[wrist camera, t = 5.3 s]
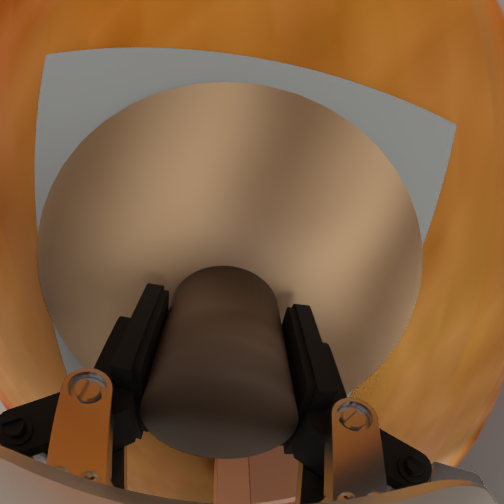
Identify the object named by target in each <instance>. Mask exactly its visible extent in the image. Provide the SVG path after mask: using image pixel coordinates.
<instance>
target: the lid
mask: <svg viewBox="0 0 504 504" xmlns="http://www.w3.org/2000/svg"><path fill="white" fill-rule="evenodd" d="M37 266H38V276H39V282H40V286H41V290H42V294H43V298H44V302H45V304H46V307H47V310H48V312H49V315H50V317H51V320H52V322H53V324H54V326H55V327H56V329H57V331H58V333H59V335H60V337H61V338H62V340H63V341H64V343H65V344H66V346H67V347H68V348H69V350H70V351H71V353H72V354H73V355H74V356H75V358H76V359H77V360H78V361H79V362H80V363H81V364H82V366H83V367H84V368H94V366H95V364H96V362H97V360H98V358H99V356H100V354H101V351H102V349H103V347H104V345H105V343H106V341H107V339H108V337H109V335H110V333H111V331H112V329H113V327H114V325H115V323H116V321H117V319H118V318H119V317H120V316H124V317H129V318H131V316H132V314H133V312H134V310H135V308H136V305H137V303H138V301H139V299H140V297H141V295H142V293H143V291H144V289H145V287H146V285H147V283H151V284H157V285H163V286H164V290H168V291H169V311H168V314H167V317H166V320H165V323H164V326H163V330H162V333H161V336H160V339H159V342H158V346H157V349H156V352H155V356H154V359H153V362H152V366H151V369H150V373H149V376H148V380H147V383H146V387H145V390H144V394H143V397H142V401H141V405H140V415H141V419H142V421H143V423H144V425H145V426H146V428H147V429H148V430H149V431H150V432H151V433H152V434H153V435H154V436H155V437H156V438H157V439H159V440H160V441H162V442H163V443H165V444H167V445H168V446H170V447H172V448H175V449H177V450H179V451H182V452H185V453H188V454H192V455H195V456H200V457H206V458H215V459H236V458H245V457H250V456H255V455H259V454H262V453H265V452H267V451H270V450H272V449H274V448H276V447H278V446H280V445H281V444H283V443H284V442H285V441H287V440H288V439H289V438H290V437H291V436H292V435H293V433H294V432H295V430H296V428H297V425H298V420H299V418H298V410H297V405H296V399H295V394H294V388H293V383H292V377H291V372H290V367H289V361H288V356H287V351H286V345H285V340H284V335H283V329H282V322H283V319H284V315H285V312H286V309H287V307H292V306H293V304H302V305H309V306H310V307H311V310H312V313H313V316H314V319H315V322H316V324H317V327H318V330H319V333H320V336H321V339H322V342H323V343H328V344H329V346H330V348H331V351H332V354H333V357H334V360H335V363H336V366H337V368H338V371H339V374H340V377H341V380H342V383H343V386H344V389H345V392H346V395H347V394H348V393H350V392H351V391H353V390H354V389H356V388H357V387H358V386H359V385H360V384H362V383H363V382H364V381H365V380H366V379H368V378H369V377H370V376H371V375H372V374H373V373H374V372H375V371H376V370H377V369H378V368H379V367H380V366H381V364H382V363H383V362H384V361H385V360H386V358H387V357H388V356H389V355H390V353H391V352H392V351H393V349H394V348H395V347H396V345H397V343H398V342H399V340H400V338H401V336H402V335H403V333H404V331H405V329H406V328H407V325H408V323H409V321H410V318H411V316H412V313H413V311H414V308H415V305H416V301H417V297H418V294H419V290H420V284H421V276H422V267H423V258H422V239H421V234H420V228H419V223H418V218H417V215H416V212H415V209H414V206H413V203H412V201H411V198H410V195H409V193H408V191H407V189H406V187H405V185H404V183H403V182H402V180H401V178H400V176H399V174H398V173H397V171H396V169H395V168H394V167H393V165H392V164H391V163H390V161H389V160H388V159H387V157H386V156H385V155H384V154H383V152H382V151H381V150H380V149H379V147H378V146H377V145H376V144H375V143H374V142H372V141H371V140H370V139H369V138H368V137H367V136H366V135H365V134H364V133H363V132H362V131H361V130H360V129H358V128H357V127H356V126H355V125H353V124H352V123H351V122H349V121H348V120H346V119H345V118H343V117H342V116H340V115H339V114H337V113H336V112H334V111H332V110H331V109H329V108H327V107H325V106H323V105H321V104H319V103H317V102H314V101H312V100H310V99H308V98H305V97H303V96H301V95H298V94H296V93H292V92H288V91H285V90H281V89H277V88H273V87H269V86H265V85H258V84H249V83H238V82H215V83H202V84H192V85H187V86H183V87H179V88H175V89H171V90H167V91H163V92H159V93H157V94H154V95H152V96H149V97H147V98H145V99H142V100H140V101H138V102H136V103H133V104H131V105H129V106H127V107H126V108H124V109H122V110H121V111H119V112H118V113H116V114H115V115H113V116H112V117H110V118H109V119H107V120H106V121H104V122H103V123H101V124H100V125H99V126H98V127H97V128H96V129H95V130H94V131H92V132H91V133H90V134H89V135H88V136H87V137H86V138H85V139H84V140H83V141H82V142H81V143H80V144H79V145H78V146H77V148H76V149H75V150H74V151H73V153H72V154H71V155H70V156H69V158H68V159H67V160H66V162H65V163H64V164H63V166H62V168H61V169H60V171H59V173H58V175H57V177H56V178H55V180H54V182H53V184H52V186H51V188H50V190H49V193H48V196H47V199H46V201H45V204H44V207H43V210H42V214H41V219H40V224H39V230H38V236H37Z"/></svg>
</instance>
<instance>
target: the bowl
mask: <svg viewBox="0 0 504 504" xmlns="http://www.w3.org/2000/svg"><path fill="white" fill-rule="evenodd" d="M298 463H299V461H298V460H296V459H295V458H294V456H293V454H284V448H283V446H278V447H276V448H274V449H272V450H270V451H267V452H265V453H262V454H259V455H255V456H250V457H245V458H236V459H215V462H214V498H213V504H295V496H296V486H297V474H298Z"/></svg>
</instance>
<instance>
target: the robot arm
mask: <svg viewBox="0 0 504 504" xmlns="http://www.w3.org/2000/svg"><path fill="white" fill-rule="evenodd" d="M168 311H169V291H168V290H164V286H163V285H157V284H151V283H147V285H146V287H145V289H144V291H143V293H142V295H141V297H140V299H139V301H138V303H137V305H136V308H135V310H134V312H133V314H132V316H131V318H129V317H124V316H120V317H119V318H118V319H117V321H116V323H115V325H114V327H113V329H112V331H111V333H110V335H109V337H108V339H107V341H106V343H105V345H104V347H103V349H102V351H101V354H100V356H99V358H98V360H97V362H96V364H95V366H94V368H81V369H77V370H75V371H73V372H71V373H69V374H68V375H67V376H66V377H65V379H64V381H63V384H62V387H61V391H60V392H59V393H56V394H53V395H50V396H48V397H45V398H42V399H39V400H36V401H33V402H30V403H27V404H24V405H21V406H18V407H15V408H12V409H9V410H7V411H5V412H3V413H2V414H1V415H0V504H208V503H198V502H190V501H182V500H175V499H169V498H163V497H157V496H152V495H147V494H142V493H138V492H133V491H129V490H127V445H129V444H131V443H133V442H135V439H136V438H138V439H141V438H142V434H143V431H146V432H148V431H149V430H148V429H147V428H146V426H145V425H144V423H143V421H142V419H141V415H140V405H141V401H142V397H143V394H144V390H145V387H146V383H147V380H148V376H149V373H150V369H151V366H152V362H153V359H154V356H155V352H156V349H157V346H158V342H159V339H160V336H161V333H162V330H163V326H164V323H165V320H166V317H167V314H168ZM282 329H283V335H284V340H285V345H286V351H287V356H288V361H289V367H290V372H291V377H292V383H293V388H294V394H295V399H296V405H297V410H298V418H299V420H298V425H297V428H296V430H295V432H294V433H293V435H292V436H291V437H290V438H289V439H288V440H287V441H285V442H284V443H283V444H281V445H280V446H283V448H284V454H293V456H294V458H295V459H296V460H298V461H299V463H298V474H297V486H296V496H295V504H498V503H497V501H496V499H495V498H494V496H493V495H492V493H491V492H490V491H489V490H488V489H487V488H486V487H485V486H484V485H483V481H482V479H481V477H480V476H479V475H478V474H476V473H474V472H471V471H467V470H463V469H459V468H456V467H452V466H448V465H445V464H442V463H438V462H434V463H432V464H431V463H430V461H429V459H428V458H427V457H426V455H424V454H423V453H421V452H420V451H418V450H416V449H414V448H413V447H411V446H409V445H407V444H406V443H404V442H402V441H400V440H398V439H397V438H395V437H393V436H392V435H390V434H388V433H386V432H385V431H383V430H381V429H380V428H379V423H378V417H377V415H376V412H375V411H374V409H373V408H372V407H371V406H370V405H369V404H368V403H366V402H364V401H362V400H360V399H356V398H347V395H346V392H345V389H344V386H343V383H342V380H341V377H340V374H339V371H338V368H337V366H336V363H335V360H334V357H333V354H332V351H331V348H330V346H329V344H328V343H323V342H322V339H321V336H320V333H319V330H318V327H317V324H316V322H315V319H314V316H313V313H312V310H311V307H310V306H309V305H302V304H293V306H292V307H287V309H286V312H285V315H284V319H283V322H282Z"/></svg>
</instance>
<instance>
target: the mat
mask: <svg viewBox="0 0 504 504" xmlns="http://www.w3.org/2000/svg"><path fill="white" fill-rule="evenodd" d="M215 82H238V83H249V84H258V85H265V86H269V87H273V88H277V89H281V90H285V91H288V92H292V93H296V94H298V95H301V96H303V97H305V98H308V99H310V100H312V101H314V102H317V103H319V104H321V105H323V106H325V107H327V108H329V109H331V110H332V111H334V112H336V113H337V114H339V115H340V116H342V117H343V118H345V119H346V120H348V121H349V122H351V123H352V124H353V125H355V126H356V127H357V128H358V129H360V130H361V131H362V132H363V133H364V134H365V135H366V136H367V137H368V138H369V139H370V140H371V141H372V142H374V143H375V144H376V145H377V146H378V147H379V149H380V150H381V151H382V152H383V154H384V155H385V156H386V157H387V159H388V160H389V161H390V163H391V164H392V165H393V167H394V168H395V169H396V171H397V173H398V174H399V176H400V178H401V180H402V182H403V183H404V185H405V187H406V189H407V191H408V193H409V195H410V198H411V201H412V203H413V206H414V209H415V212H416V215H417V218H418V223H419V228H420V234H421V239H422V246H423V243H424V240H425V238H426V235H427V232H428V229H429V226H430V223H431V220H432V217H433V214H434V211H435V208H436V204H437V201H438V198H439V195H440V191H441V188H442V184H443V180H444V177H445V173H446V169H447V165H448V161H449V157H450V153H451V149H452V144H453V140H454V135H455V130H456V124H454V123H452V122H450V121H448V120H446V119H444V118H442V117H440V116H438V115H436V114H433V113H431V112H429V111H427V110H425V109H423V108H420V107H418V106H416V105H413V104H411V103H409V102H406V101H404V100H402V99H399V98H397V97H394V96H392V95H389V94H386V93H384V92H381V91H378V90H376V89H373V88H370V87H367V86H364V85H361V84H358V83H355V82H352V81H349V80H346V79H343V78H339V77H336V76H333V75H329V74H325V73H322V72H318V71H314V70H311V69H307V68H302V67H298V66H294V65H290V64H285V63H280V62H276V61H271V60H265V59H260V58H254V57H248V56H242V55H235V54H228V53H220V52H211V51H201V50H189V49H173V48H106V49H91V50H79V51H70V52H61V53H54V54H47V55H46V58H45V63H44V69H43V75H42V81H41V88H40V95H39V104H38V113H37V124H36V140H35V204H36V220H37V232H38V230H39V224H40V219H41V214H42V210H43V207H44V204H45V201H46V199H47V196H48V193H49V190H50V188H51V186H52V184H53V182H54V180H55V178H56V177H57V175H58V173H59V171H60V169H61V168H62V166H63V164H64V163H65V162H66V160H67V159H68V158H69V156H70V155H71V154H72V153H73V151H74V150H75V149H76V148H77V146H78V145H79V144H80V143H81V142H82V141H83V140H84V139H85V138H86V137H87V136H88V135H89V134H90V133H91V132H92V131H94V130H95V129H96V128H97V127H98V126H99V125H100V124H101V123H103V122H104V121H106V120H107V119H109V118H110V117H112V116H113V115H115V114H116V113H118V112H119V111H121V110H122V109H124V108H126V107H127V106H129V105H131V104H133V103H136V102H138V101H140V100H142V99H145V98H147V97H149V96H152V95H154V94H157V93H159V92H163V91H167V90H171V89H175V88H179V87H183V86H187V85H192V84H202V83H215ZM53 327H54V331H55V334H56V338H57V342H58V346H59V349H60V353H61V356H62V360H63V363H64V366H65V369H66V372H67V375H68V374H69V373H71V372H73V371H75V370H77V369H81V368H84V367H83V366H82V364H81V363H80V362H79V361H78V360H77V359H76V358H75V356H74V355H73V354H72V353H71V351H70V350H69V348H68V347H67V346H66V344H65V343H64V341H63V340H62V338H61V337H60V335H59V333H58V331H57V329H56V327H55V326H54V324H53ZM351 393H352V391H351V392H350V393H348V394H347V398H349V396H350V395H351Z"/></svg>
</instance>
